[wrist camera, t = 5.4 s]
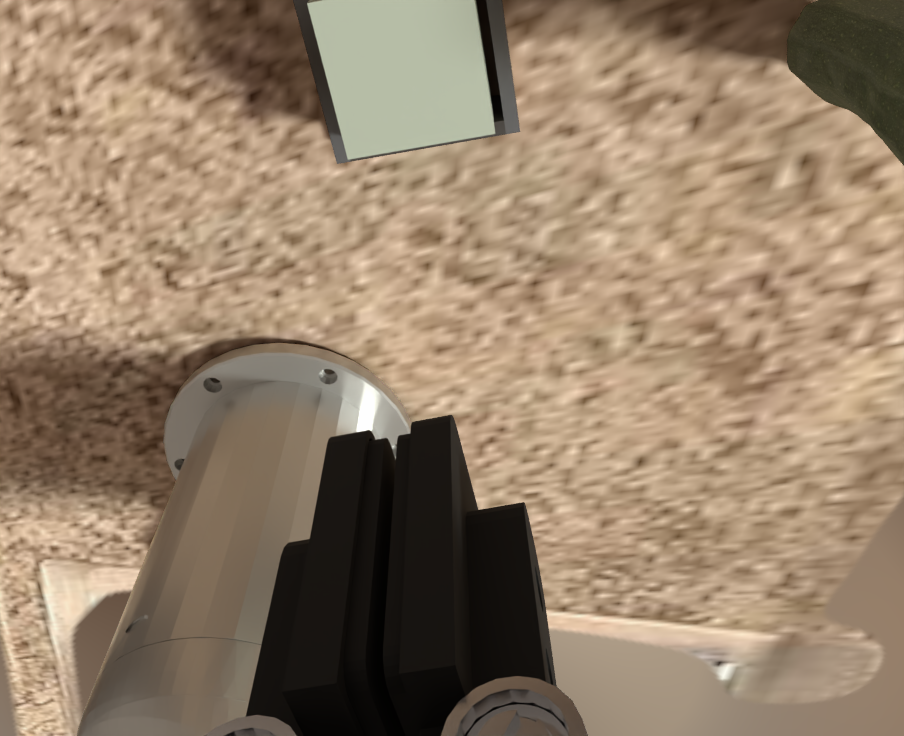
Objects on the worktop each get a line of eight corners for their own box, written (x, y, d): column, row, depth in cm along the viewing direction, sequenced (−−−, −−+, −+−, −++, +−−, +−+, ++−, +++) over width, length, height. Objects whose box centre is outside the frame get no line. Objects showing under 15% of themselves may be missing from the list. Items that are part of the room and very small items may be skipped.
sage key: (491, 96, 31) (495, 133, 28) (359, 120, 32) (348, 159, 28) (468, -51, 28) (470, -29, 25) (324, -22, 29) (306, 3, 26)
